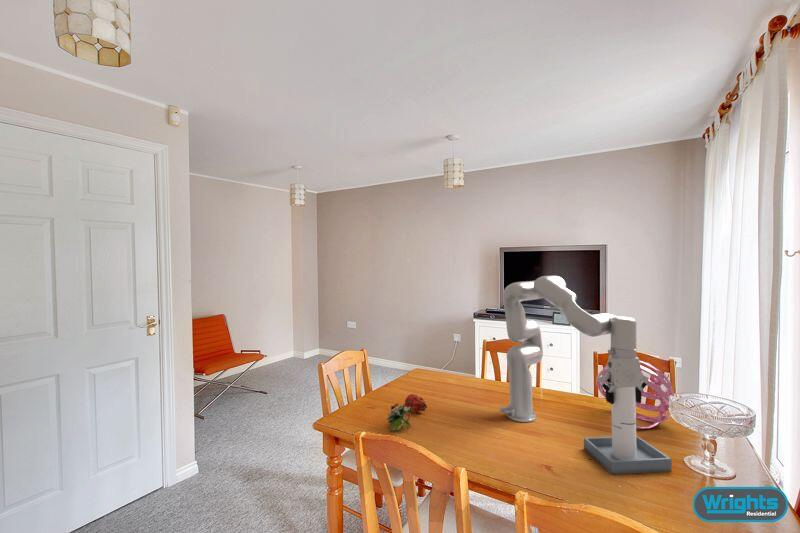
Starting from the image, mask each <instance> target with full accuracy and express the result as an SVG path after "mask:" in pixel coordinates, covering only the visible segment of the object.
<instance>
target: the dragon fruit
mask: <svg viewBox="0 0 800 533" xmlns="http://www.w3.org/2000/svg"><path fill="white" fill-rule="evenodd" d="M403 405H405V406H406V408H409V407H411V408H412V411H411V412H413V413H414V414H416V415H420V414H422V413H421V412H423V411H426V409H427V408H428V407H427V406H428V405H427V403H426V401H424V398H422V397H420V396H419V395H417V394H415V393H411V394H408V395H407V396H406V398H405V399H404V403H403Z"/></svg>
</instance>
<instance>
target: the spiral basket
mask: <svg viewBox="0 0 800 533" xmlns="http://www.w3.org/2000/svg"><path fill="white" fill-rule="evenodd" d="M639 361H640V364H641V371H643V372H644V373H647V375H650V377H651V379H652V380H651V379H649V380H648V382H647V383H646V387H649V388H650V389H651V390H652V391H654V392H649V391H645V390H643V391H641V397H644V398H646V399H651V400H658V401H659V403H660V404H659V405H651V404H648V403H643V402H641V403H638V402H636V408H638V409H642V410H644V411H647V412H648V411H649V412H653V413H654V412H655V413H658V415H657V416H655V417H654V416H648V415H644V414H641V413H638V412H636V419H638V420H641V421H645V422H650V423H651V424H650V425H647V426H639V425H636V430H637V429H638V430H650V429H652V428H655V427H657V426H658V425H659V424H660V423H663V422H664V421H667V420H668V419H669V418H670V417H671V416H670V414H669V409H668V408H669V399H670V396H671V397H672V396H674V395H675V392H674V390H673V387H672V384H671V381H670V380H669V378H668V376H666V375H665V373H664V372H662V371H661V370H660V369H658V368H657V367H656V366H655V365H653V364H651V363H649V362H647V361H644V360H640V359H639ZM646 366H647V367H649V368H647V367H646ZM643 372H642V375H644V373H643ZM605 374H607V364H605V365H604V366H603V367H602V370H601V371H600V372H599V373H598V374H597V376H596V387H597V389H598V390H599V393H600V394H601V395H602V397H603V398H605V400H606V390H605V389H604V388H603V387H602V386H601V384H600V382H599V380H598V378H600V377H602V376H603V375H605ZM607 383H608V382H607V380H606V381H605V384H607ZM662 385H663V386H664V387H665V388H666V390H665V391H664V390H663V389H662V387H661V386H662ZM609 388H610V387H609ZM667 412H668V413H667ZM666 413H667V414H666ZM665 414H666V415H665Z"/></svg>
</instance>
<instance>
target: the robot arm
mask: <svg viewBox="0 0 800 533" xmlns="http://www.w3.org/2000/svg"><path fill="white" fill-rule="evenodd" d="M577 297H578V296H577V294H576V293H575V292H574V291H571V289H569V288H567V283H566V281H565V280H564V279H563V278H562V277H561V276H558V275H542V276H540V277H538V278H536V279H535V280H530V281H529V280H526V281H516V282H512V283H510V284H508V285H507V286H506V287H505V288H504V290H503V292H502V302H503V307H504V313H505V322H506V324H505V325H506V332H507V333H506V334H507V337H508V339H509V340H510V341H511V342H512V343H520V344H517V345H514V346H512V347H510V348H509V349H508V350H507V352H506V362H507V366H508V379H509V380H508V381H509V384H508V385H509V403H507V406H505V407H503V406H500V407H499V408H498V410H499V412H500V413H503V414H506V417H507V418H509V419H510V420H512V421H515V422H519V423H531V422H534V421H535V420H537V414H536V412H534V411H533V382H532V381H533V379H532V378H533V377H532V373H531V370H530V368H529V366H532V365H536V364H538V363H540V362H541V361H542V359H543V356H544V352H543V351H544V350H543V342H542V334H541V328H540V326H539V324H538V323H537V321H535V320H534V319H531V318H526V312H525V308H524V306H523V304H522V303H521V302H527V301H534V300H541V299H544V300H546V301H547V302H548V303H550V304H551V305H552V306H554V307H556V308H557V309H558V310H560V311H561V314H562V316H563V317H564V319H565V320H566V322H567V323H568V324H570V326H572V327H573V328H575V330H577V331H579V332H580V333H582V334H583V335H585V336H588V337H591V338H593V337H601V336H602V335H603V336H605V335H608V334H609V335H610V347H609V348H610V349H608V350H607V353H608V355H609V354H610V355H609V356H608V360H607V364H606V365H607V374H605V375H603V376H602V375H601V376H600V378H598V380H599V382H600V384H601V386H602V388H603V389H604V391H605V392H606V399H605V400H606V402H607V403H609V404H610V405H611V404H614V393H613V392H612V391H613V390H614V388H615V387H617V388H622V387H635V398H636V402H638V403H642V396H641V391H644V388H646V387H647V385H646V383H647V382H648V380H650V378H649V377H648V376H646V375H645V374H643V375H642V373H643V372H642V370H641V366H642V364H641V363H640V361H639V360H640V358H639V357H638V356H637V320H636V319H635V318H633V317H630V316H624V315H623V316H621V315H620V316H618V315H615V314H611V313H606V312H602V313H595V314H590V313H589V312H587V311H586V310H584V309H582V308H581V307H580V306H579V305H578V304H577V303H576V302H577ZM522 342H523V343H522ZM521 343H522V344H521ZM606 380H607V382H608V383H607V384H606V383H605V381H606ZM609 387H610V388H609Z"/></svg>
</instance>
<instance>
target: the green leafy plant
mask: <svg viewBox="0 0 800 533" xmlns="http://www.w3.org/2000/svg"><path fill="white" fill-rule="evenodd" d="M390 410H391V411H390V413H389V414H388V417H387V418H386V420H387V423H388V424H390V425H389V432H390V433H392V432H395V431H399V430H400V429H401V428H402V427H403V426H404V424H405V425H406V427H407V429H409V427H411V426H412V425H411V424H410V423H409V421H410V416H411V413H412V412H413V411H412V408H411V407H409V408H408V407H406V406H405V405H404V404H402V405H400V404H399V403H395V404H393V405H391V406H390ZM406 413H409V414H408V417H407V419H405V418H404V417H405V415H406Z"/></svg>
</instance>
